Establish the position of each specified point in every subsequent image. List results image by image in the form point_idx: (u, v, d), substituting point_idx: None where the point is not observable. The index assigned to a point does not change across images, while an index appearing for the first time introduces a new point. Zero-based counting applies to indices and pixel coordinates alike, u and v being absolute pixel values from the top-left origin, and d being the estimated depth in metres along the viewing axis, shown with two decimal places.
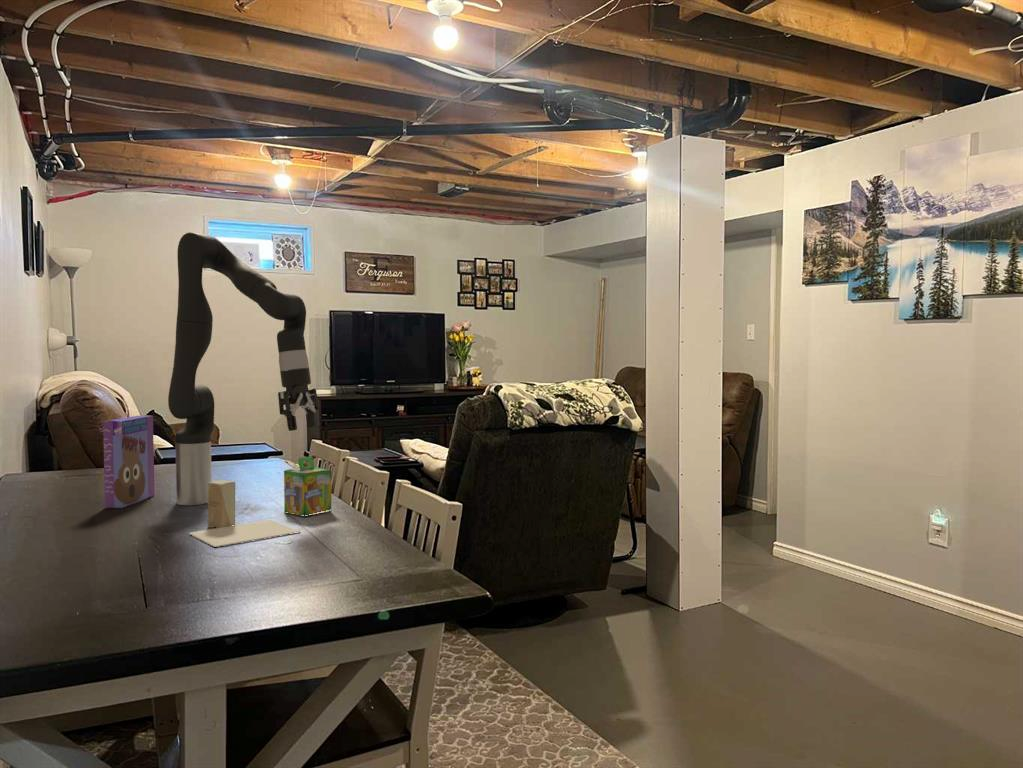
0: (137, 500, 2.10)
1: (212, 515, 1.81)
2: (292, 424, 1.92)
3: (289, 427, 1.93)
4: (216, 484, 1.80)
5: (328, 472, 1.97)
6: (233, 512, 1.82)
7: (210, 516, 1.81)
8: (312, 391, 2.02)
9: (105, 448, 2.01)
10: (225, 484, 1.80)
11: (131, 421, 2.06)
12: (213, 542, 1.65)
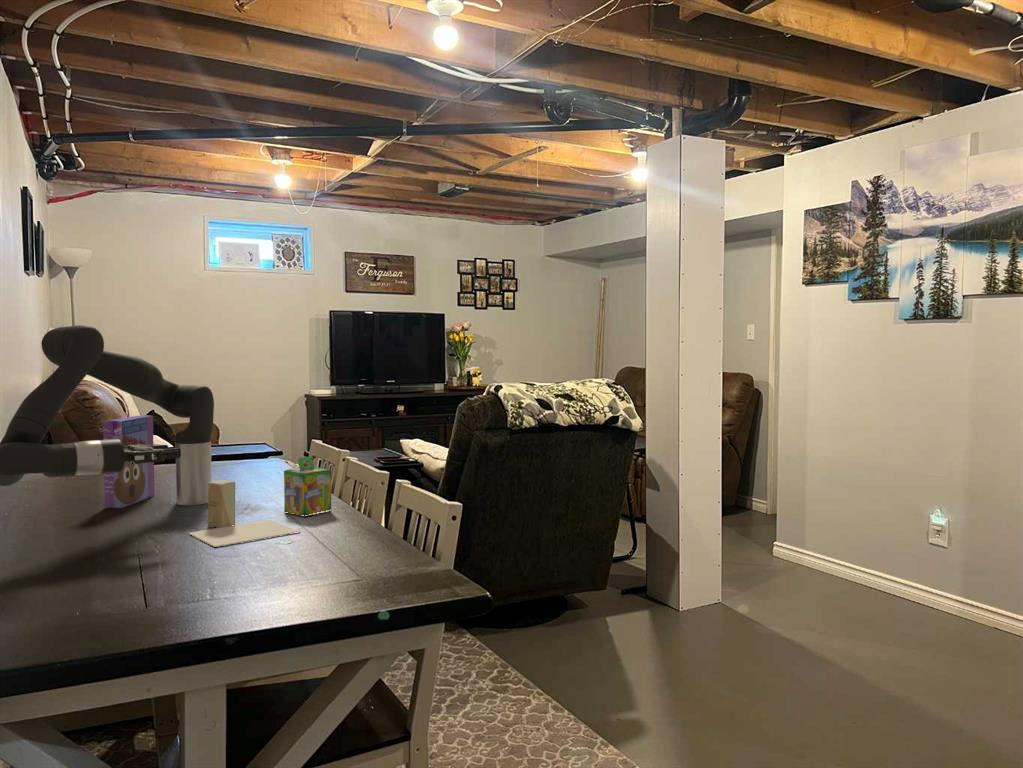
0: (137, 500, 2.10)
1: (212, 515, 1.81)
2: None
3: None
4: (216, 484, 1.80)
5: (328, 472, 1.97)
6: (233, 512, 1.82)
7: (210, 516, 1.81)
8: None
9: None
10: (225, 484, 1.80)
11: (131, 421, 2.06)
12: (213, 542, 1.65)
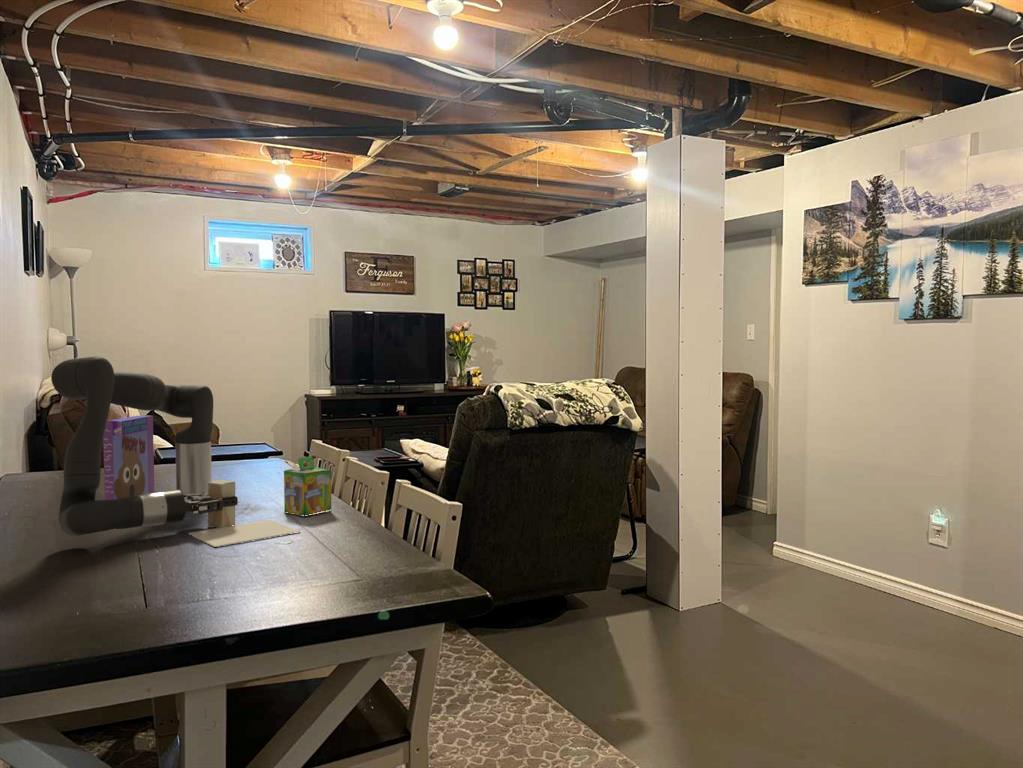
0: None
1: (212, 515, 1.81)
2: None
3: None
4: (216, 484, 1.80)
5: (328, 472, 1.97)
6: (233, 512, 1.82)
7: (210, 516, 1.81)
8: None
9: (105, 448, 2.01)
10: (225, 484, 1.80)
11: (131, 421, 2.06)
12: (213, 542, 1.65)
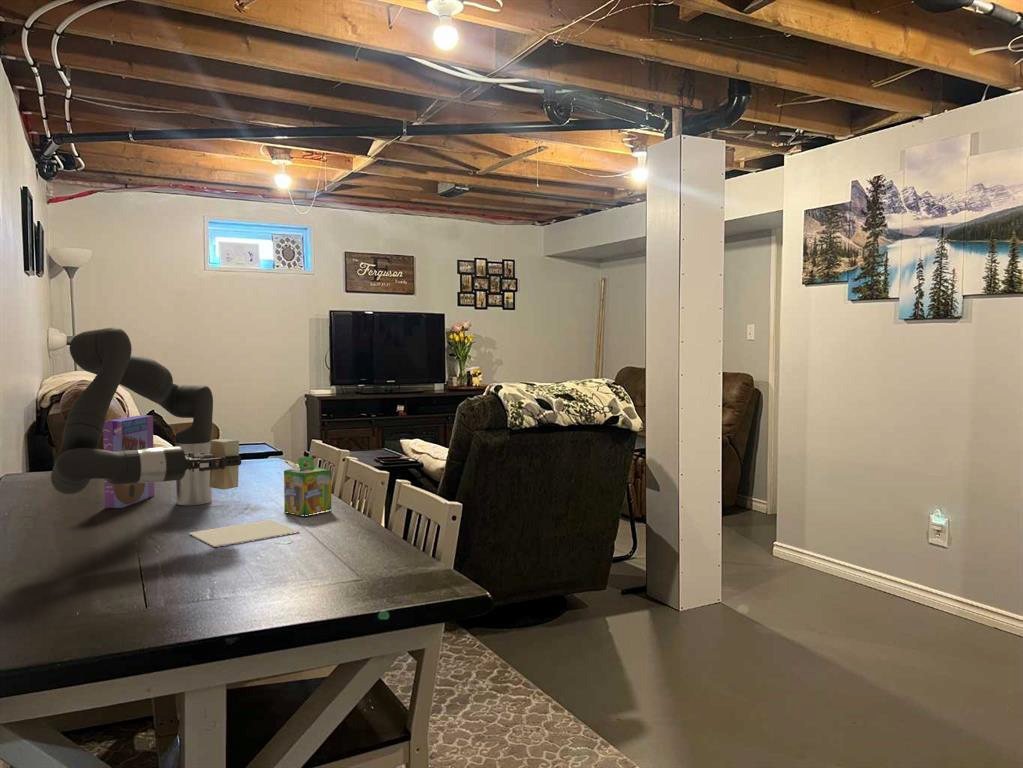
0: (137, 500, 2.10)
1: (214, 475, 1.70)
2: None
3: None
4: (219, 442, 1.69)
5: (328, 472, 1.97)
6: (236, 473, 1.72)
7: (212, 476, 1.70)
8: None
9: (105, 448, 2.01)
10: (228, 442, 1.69)
11: (131, 421, 2.06)
12: (213, 542, 1.65)
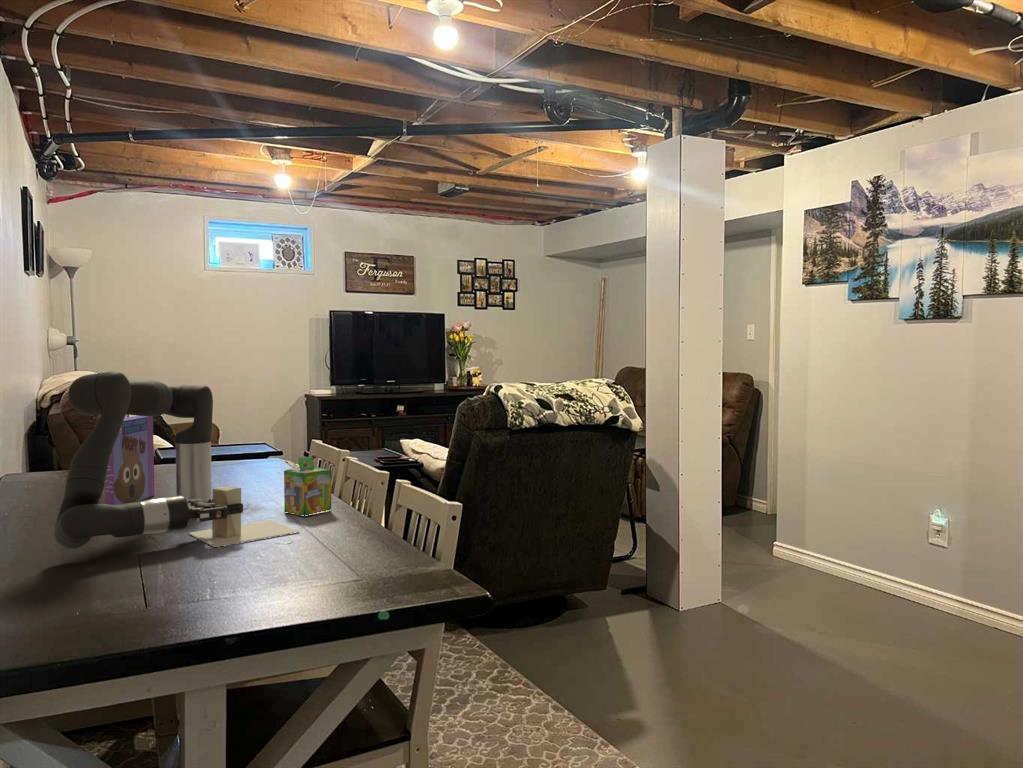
0: (137, 500, 2.10)
1: (216, 523, 1.70)
2: None
3: None
4: (221, 490, 1.69)
5: (328, 472, 1.97)
6: (239, 520, 1.72)
7: (214, 524, 1.71)
8: None
9: None
10: (230, 490, 1.69)
11: (131, 421, 2.06)
12: (213, 542, 1.65)
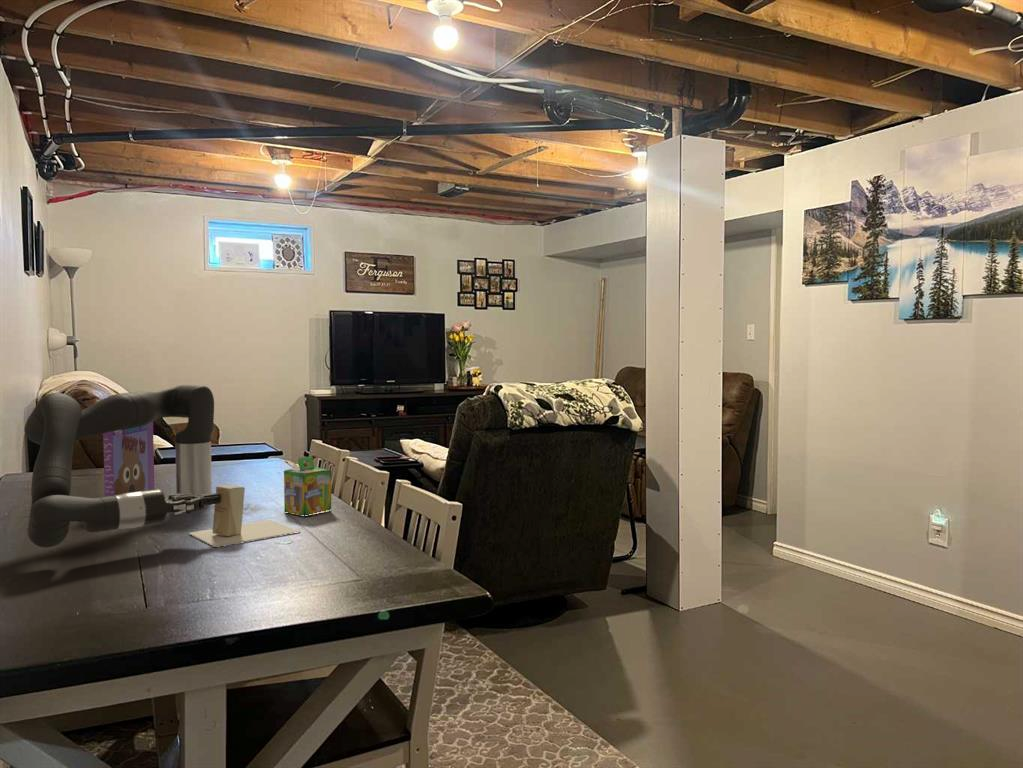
0: None
1: (217, 521, 1.71)
2: None
3: None
4: (224, 488, 1.70)
5: (328, 472, 1.97)
6: (240, 519, 1.72)
7: (215, 522, 1.71)
8: None
9: (105, 448, 2.01)
10: (234, 489, 1.70)
11: None
12: (213, 542, 1.65)
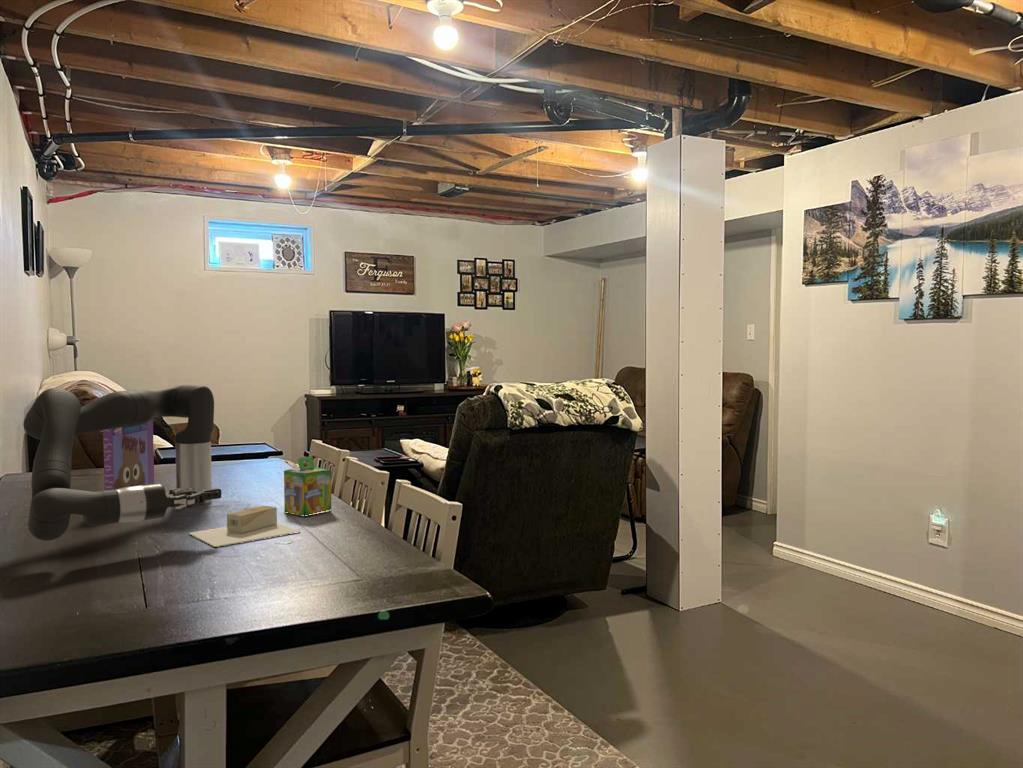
0: None
1: (241, 511, 1.77)
2: None
3: None
4: (270, 506, 1.83)
5: (328, 472, 1.97)
6: (253, 527, 1.76)
7: (238, 512, 1.77)
8: None
9: (105, 448, 2.01)
10: (276, 511, 1.82)
11: None
12: (213, 542, 1.65)
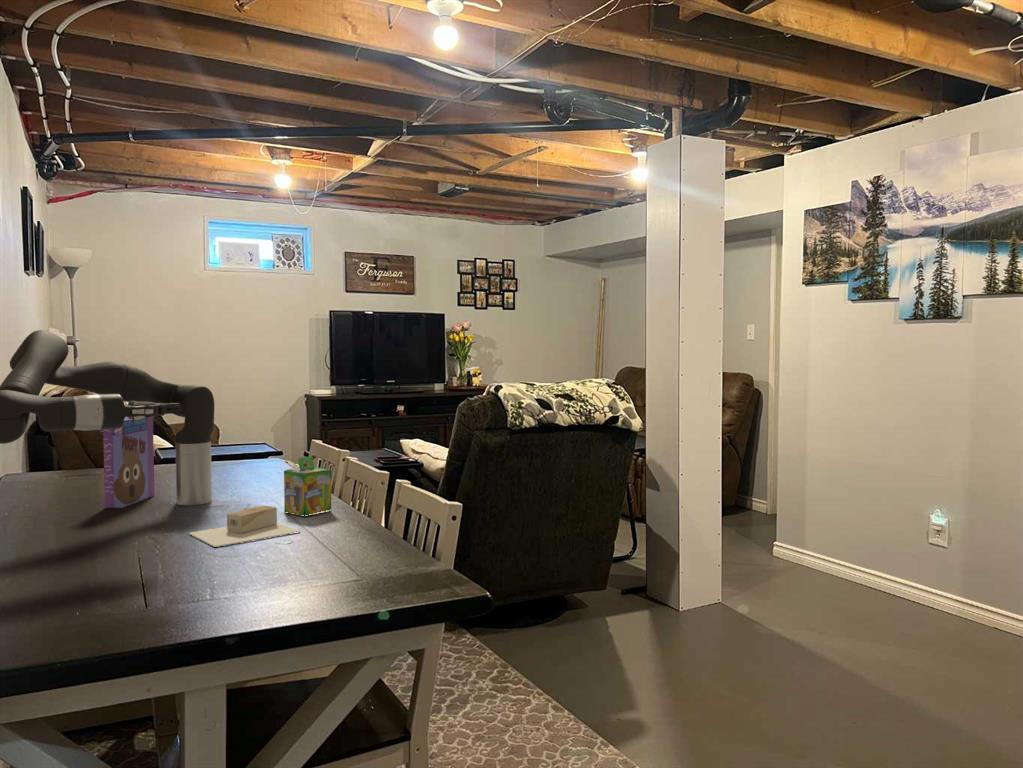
0: (137, 500, 2.10)
1: (241, 511, 1.77)
2: None
3: None
4: (270, 506, 1.83)
5: (328, 472, 1.97)
6: (253, 527, 1.76)
7: (238, 512, 1.77)
8: None
9: (105, 448, 2.01)
10: (276, 511, 1.82)
11: (131, 421, 2.06)
12: (213, 542, 1.65)
